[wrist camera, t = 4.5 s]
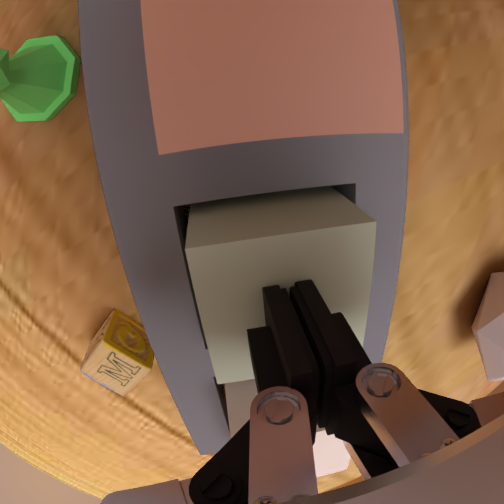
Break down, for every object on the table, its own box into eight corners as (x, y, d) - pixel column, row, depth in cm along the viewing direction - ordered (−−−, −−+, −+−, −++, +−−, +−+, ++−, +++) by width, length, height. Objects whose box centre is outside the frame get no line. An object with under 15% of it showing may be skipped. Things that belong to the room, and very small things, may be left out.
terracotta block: (161, -11, 8) (137, -70, 4) (318, -19, 9) (377, -68, 4) (177, 134, 11) (158, 155, 7) (333, 118, 12) (403, 133, 7)
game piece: (1, 62, 10) (-78, 60, 4) (73, 21, 10) (6, -12, 4) (18, 136, 12) (-60, 165, 6) (91, 101, 12) (24, 106, 6)
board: (100, -15, 9) (78, -37, 7) (357, -32, 10) (386, -52, 7) (198, 422, 22) (200, 454, 19) (351, 394, 23) (364, 422, 20)
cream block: (222, 369, 17) (231, 447, 12) (330, 349, 17) (362, 419, 13) (237, 426, 19) (247, 490, 15) (324, 409, 20) (346, 469, 15)
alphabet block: (91, 337, 17) (78, 373, 15) (113, 305, 17) (101, 342, 14) (132, 361, 18) (125, 398, 16) (158, 333, 18) (153, 372, 15)
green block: (191, 199, 14) (184, 248, 9) (324, 181, 14) (376, 221, 10) (212, 311, 16) (217, 384, 12) (324, 292, 17) (361, 356, 12)
